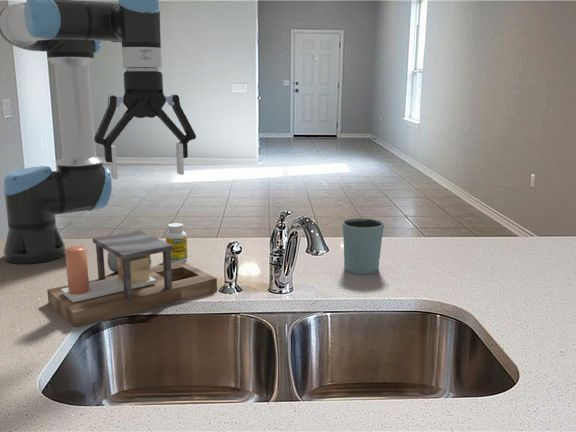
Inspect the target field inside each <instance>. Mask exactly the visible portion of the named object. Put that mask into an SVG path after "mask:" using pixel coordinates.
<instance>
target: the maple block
mask: <svg viewBox="0 0 576 432" xmlns="http://www.w3.org/2000/svg"><path fill="white" fill-rule="evenodd" d="M117 264H118V272H117V275H118V278H119V279H120V280H122V281H123V267H122V259H121V258H119V257H117ZM149 268H150V266H149V257H147V256H140V257H135V258H130V271H131V284H132V283H137V282H141V281H146V280H150V273H149Z"/></svg>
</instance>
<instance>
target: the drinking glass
mask: <svg viewBox="0 0 576 432" xmlns="http://www.w3.org/2000/svg"><path fill="white" fill-rule="evenodd" d="M384 228H385V224H384V222H383V221H381V220H377V219H374V218H373V219H372V218H359V217H358V218H348V219H345V220H343V221H342V235H343V237H342V239H343V241H342V242H343V243H342V244H343V258H344V259H343V260H344V261H343V266H344V267H343V268H344V270H345V271H346V272H347V273H350V274H355V275H370V274H372V275H373V274H375V273H377V272H378V271H379V267H380V258H381V249H382V238H383V233H384Z"/></svg>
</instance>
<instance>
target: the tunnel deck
mask: <svg viewBox="0 0 576 432" xmlns="http://www.w3.org/2000/svg"><path fill="white" fill-rule="evenodd" d="M92 243H93V244H95V253H96V265H97V266H96V267H97V277H98V278H95V279H91V280H89V283H91V282H96V281H101V280H105V279H110V278H115V277H118V274H115V275H110V276H106V272H105V271H106V270H105V256H104V250H105V251H106V252H110V253H112V254H114V255H116V256H117V257H119V258H121V259H122V267H123V282H124V291H121V292H117V293H112V294H108V295H104V296H99V297H95V298H91V299H86V300H82V301H78V302H72V301H71V300H70V299H68V298H67V297H66V296H65V295H64V294H62V293H61V289H63V288H68V284H66V285H61V286H59V287H53V288H47V291H46V292H47V301H48V305H50V306H51V307H52V308H53V309H54V310H56V311H57V313H59V314H60V315H61V316H62V317H63V318H64V319H65V320H67V322H68V323H69V324H70V325H72V326H73V327H74V328H78V327H82V326H86V325H89V324H93V323H97V322H100V321H104V320H109V319H112V318H116V317H121V316H123V315H124V316H125V315H129V314H133V313H135V312H139V311H144V310H148V309H152V308H156V307H159V306H163V305H167V304H171V303H175V302H179V301H182V300H186V299H190V298H194V297H195V298H196V297H198V296H202V295H205V294H209V293H215V292H217V291H218V278H217V277H215V276H213V275H211V274H209V273H207V272H205V271H203V270H201V269H198V268H197V267H195V266H193V265H191V264H189V263H187V262H186V261H184V262H183V261H180V262H175V263H172V262H171V256H170V251H171V250H173V245H171V244H168V243H166V241H164V240H162V239H160V238H158V237H155V236H153V235H151V234H149V233H147V232H144V231H142V230H133V231H132V230H131V231H126V232H121V233H115V234H111V235H110V234H109V235H103V236H98V237H93V238H92ZM160 253H162V262H163V263H162V264H161V265H156V266H152V267H149V273H150V277H152V278H154V279H156V284H151V285H147V286H143V287H138V288H134V289H132V287H131V271H130V258H135V257H140V256H145V255H150V256H151V255H155V254H160Z"/></svg>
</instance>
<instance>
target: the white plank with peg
mask: <svg viewBox="0 0 576 432" xmlns="http://www.w3.org/2000/svg"><path fill="white" fill-rule="evenodd" d="M64 256H65V263H66V264H65V266H66V275H67V285H68V288H63V289H61V293H62V294H64V295H65V296H66V297H67V298H68V299H70V300H71V301H72V302H78V301H82V300H86V299H91V298H95V297H99V296H104V295H108V294H112V293H117V292H121V291H124V282H123V281H122V280H120V279H119V278H118V277H115V278H110V279H105V280H101V281H96V282H91V283H89V281H90V280H89V269H88V257H87V256H88V255H87V247H86V246H83V245H76V246H75V245H74V246H69V247H65V254H64ZM151 284H156V279H154V278H152V277H150V280H146V281H141V282H137V283H132V284H131V287H132V289H134V288H138V287H143V286H147V285H151Z"/></svg>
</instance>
